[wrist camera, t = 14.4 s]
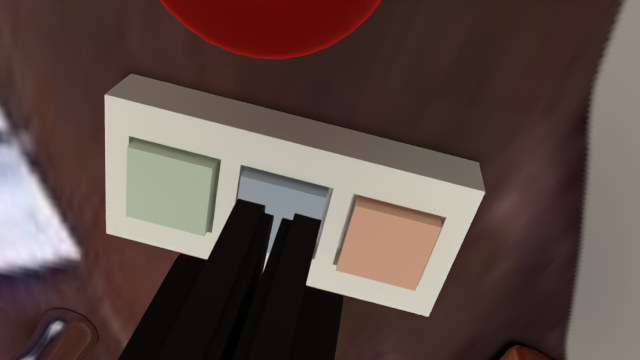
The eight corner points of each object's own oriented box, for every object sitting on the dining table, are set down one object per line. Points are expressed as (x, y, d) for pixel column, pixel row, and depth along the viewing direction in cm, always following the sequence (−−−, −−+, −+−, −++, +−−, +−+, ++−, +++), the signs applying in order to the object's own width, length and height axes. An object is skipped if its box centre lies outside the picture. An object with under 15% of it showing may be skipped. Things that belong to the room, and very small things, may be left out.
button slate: (250, 158, 39) (240, 176, 36) (331, 179, 38) (326, 198, 36) (239, 223, 42) (230, 243, 40) (314, 242, 42) (309, 263, 40)
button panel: (131, 73, 39) (104, 94, 36) (478, 162, 39) (485, 191, 35) (128, 204, 46) (106, 233, 42) (427, 281, 45) (428, 316, 42)
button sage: (142, 130, 39) (126, 146, 37) (223, 151, 39) (212, 168, 36) (140, 197, 42) (126, 216, 40) (214, 216, 42) (204, 236, 40)
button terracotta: (358, 186, 38) (355, 205, 36) (439, 207, 38) (441, 227, 36) (339, 249, 42) (335, 270, 40) (414, 268, 42) (414, 291, 39)
